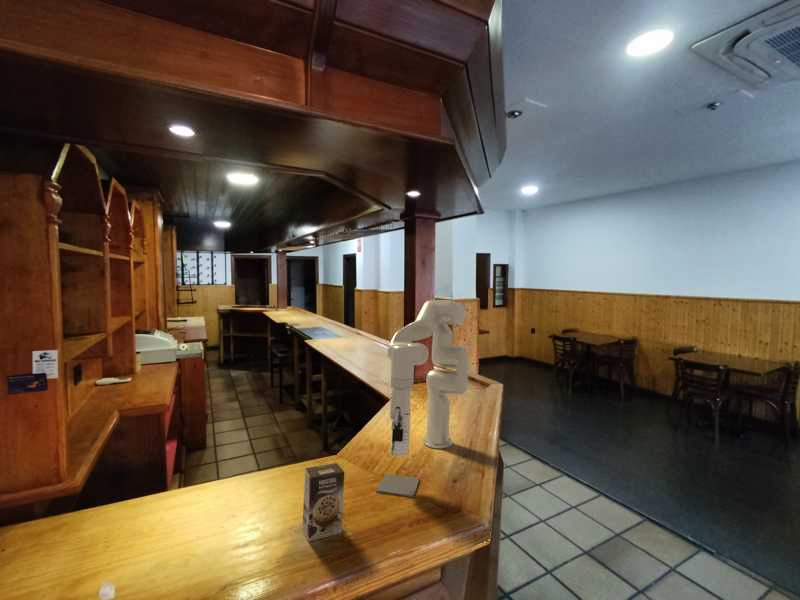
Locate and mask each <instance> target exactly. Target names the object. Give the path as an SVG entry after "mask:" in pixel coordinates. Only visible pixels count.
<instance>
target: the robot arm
mask: <svg viewBox="0 0 800 600" xmlns="http://www.w3.org/2000/svg"><path fill="white" fill-rule="evenodd" d="M466 310H467V309H466V308H465V306H464V305H463V304H461V303H459V302H457V301H455V300H449V299H446V300H445V299H429V300H426V301H425V302H424V303H423V305H422V306H421V308H420V311H419V312H418V315H417V316H416V319H415V320H414V321H413V322H410V323H409V324H407V325H406V326H404V327H402V328H400V329H399V330H398V331H397V332H396V333H395V334H394V335H393V337H392V339H391V341H390V343H389V345H388V348H387V357H388V359H389V361H391V366H390V388H392V391H391V396H390V397H391V399H390V410H389V419H390V420H392V419H393V418H394V424H393V441H399V442H402V441H403V429H402V426H403V420H405V418H406V413H407V410H408V409H410V410H411V390H412V389H414V381H415V380H414V379H415V378H414V372H415V366H422V365H424V364H425V363H426V362H427V360H428V359H429V357H430V356H429V355H430V352H429V348H428V347H427V346H426V345H425V344H423V343H421V342H420V343H419V342H415V341H419V340H424V339H427V338H429V337H432V344H431V345H432V346H431V363H432V364H433V365H434V366H436V367H440V368H441V367H443V368H452V369H455V370H456V371H454V370H449V369H448V370H447V369H432V370H430V371H428V372H427V374H426V378H425V379H426V381H425V382H426V389H427V412H426V413H427V418H426V436H425V437H424V438H423V439H422V443H423V445H425V446H426V447H429V448H432V449H447V448H450V447H452V446H453V440H452V439H451V438H450V437H449V436H450V413H451V412H450V411H451V409H450V408H451V403H450V399H449V398H448V396H447V394H450V395H457V396H463V395H464V394H465V393H466V392H467V390H468V389H467V388H468V378H469V361H470V355H469V352H468V351H469V350H468V349H467V347H465V346H463V345H454V344H453V332H452V329H451V328H450V326H449V325H453V326H454V325H455V326H461V325H462V324H464V323H465V320H466V319H467V311H466ZM394 415H395V416H394ZM399 417H402V419H399ZM399 421H401V423H400V422H399Z"/></svg>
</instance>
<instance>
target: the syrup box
mask: <svg viewBox="0 0 800 600" xmlns="http://www.w3.org/2000/svg"><path fill="white" fill-rule="evenodd" d="M394 416H395V415H394ZM399 419H402V417H399ZM399 422H400V423H401V421H399ZM393 424H394V418H393V419H391V427H390V428H391V431H390V432H391V434H390V455H391V456H393V457H394V456H400V457H402V456H409V452H410V432H411V408H410V409H408V410H407V413H406V418H405V420H403V426H402V429H403V441H402V442H399V441H393Z"/></svg>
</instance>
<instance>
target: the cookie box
mask: <svg viewBox="0 0 800 600" xmlns="http://www.w3.org/2000/svg"><path fill="white" fill-rule="evenodd" d="M344 485H345V471H344V469H343V468H342V467H341V466H340V465H339V463H338V462H335V463H329V464H323V465H317V466H312V467H311V466H310V467H305V469H304V488H303V489H304V492H303V506H302V530H303V533H304V536H305V538H306V541H307V542H313V541H316V540H320V539H323V538H328V537H333V536H335V535H339V534H342V532H343V516H344V514H343V513H344V511H343V510H344V494H345V493H344V490H345V486H344Z"/></svg>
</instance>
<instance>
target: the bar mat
mask: <svg viewBox="0 0 800 600" xmlns="http://www.w3.org/2000/svg"><path fill="white" fill-rule="evenodd" d="M420 480H421V478H419V477H415V476H414V477H413V476H408V475H407V476H406V475H399V474H391V473H385V474H384V476H383V477H382V479H381V481H380V483H379V484H378V486H377V488H376V489H375V493H379V494H384V495H386V494H387V495H393V496H399V497H405V498H414V497H415V495H416V492H417V489H418V486H419V483H420Z"/></svg>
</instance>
